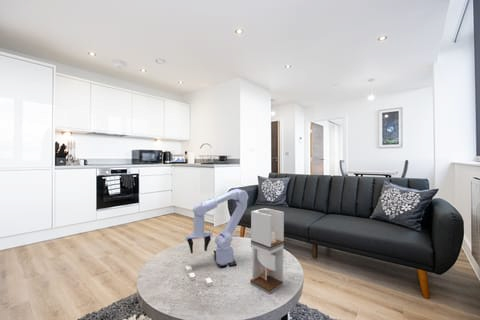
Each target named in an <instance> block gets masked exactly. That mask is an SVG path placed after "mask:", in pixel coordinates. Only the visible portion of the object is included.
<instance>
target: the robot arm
mask: <svg viewBox="0 0 480 320" xmlns="http://www.w3.org/2000/svg"><path fill="white" fill-rule="evenodd" d="M248 199H249V195H248V192H247V191H246V190H244V189H240V188H235V189H231V190H230V191H228V192H226V193H224V194H222V195H220V196H219V197H217V198H214V197H209V198H208V199H207V200H205V201H204V202H203V201H202V202H200V203H197V204H195V205H194V206H193V208H192V213H193V234H188V235H185V236H184V239H185V241H187V245H188V246H189V249H190V254H193V253H194V249H193V248H194V247H193V246H194V241H193V240H197V239H204V242H203V243H204V245H203V246H204V247H203V249H204V251H205V252H207V251H208V246H209V244H210V241H211V240H212V238H213V233H212V232H205V215H206V214H207V213H208V212H211V211H212V210H214V209H216V208H218V205H219V204H223V203H224V202H227V201H229V200H234V201H235V203H236V207H235V209H234V211H233V213H232V214H231V217H230V218H229V220H228V222H227V224H226V225H225V227H224V229H223V230H221V231H220V233H218V235H217V236H216V237H215V239H214V240H215V241H214V242H215V244H216V247H215V248H216V253H215V254H216V255H215V259H216V260H215V261H216V264H218V265H227V264H230V263H234V250H233V247H232V246H231V245H232V244H231V243H232V241H233V234H234V233H235V230H236V229H237V226H238V224H239V223H240V221H241V219H242V217H243V215H244V213H245V211H246V209H247V207H248Z"/></svg>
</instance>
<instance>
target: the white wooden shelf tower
mask: <svg viewBox="0 0 480 320" xmlns="http://www.w3.org/2000/svg"><path fill="white" fill-rule="evenodd" d="M250 213H251V214H250V217H251V218H250V220H251V221H250V225H251V226H250V248H251V250H252V252H251V253H252V254H251V255H252V256H251V258H252V259H251V279H250V280H249V281H250V285H251V286H253V287H254V288H256V289H258V290H260V291H262V292H263V293H266V294H267V295H270V294H272V293H274V292H275V291H276V290H278V289H280V288H281V287H283V286H284V246H285V245H284V241H285V239H284V237H285V235H284V234H285V233H284V232H285V230H284V229H285V212H284V211H281V210H276V209H272V208H264V207H263V208H260V209H256V210H251V212H250ZM282 285H283V286H282Z"/></svg>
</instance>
